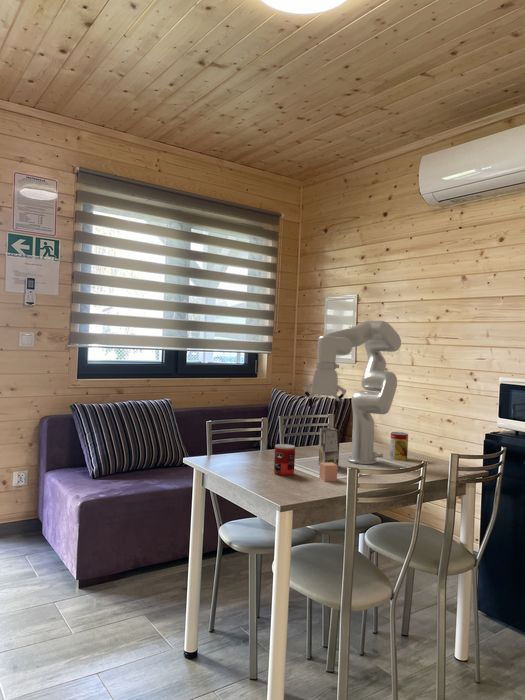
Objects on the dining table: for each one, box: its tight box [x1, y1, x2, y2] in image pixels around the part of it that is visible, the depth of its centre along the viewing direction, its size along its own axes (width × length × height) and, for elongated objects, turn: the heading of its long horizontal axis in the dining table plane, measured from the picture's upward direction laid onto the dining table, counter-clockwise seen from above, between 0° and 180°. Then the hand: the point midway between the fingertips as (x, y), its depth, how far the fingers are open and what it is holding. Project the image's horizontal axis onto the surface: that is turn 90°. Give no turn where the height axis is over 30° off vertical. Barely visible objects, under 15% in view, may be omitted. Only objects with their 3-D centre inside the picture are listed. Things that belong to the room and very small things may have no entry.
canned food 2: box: [389, 431, 409, 462], centre depth 245 cm, size 8×8×12 cm
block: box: [319, 462, 339, 482], centre depth 199 cm, size 5×5×6 cm
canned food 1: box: [273, 443, 296, 477], centre depth 206 cm, size 8×8×11 cm
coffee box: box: [318, 427, 341, 470], centre depth 221 cm, size 9×6×16 cm
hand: (323, 409), depth 209 cm, fingers open, 9 cm apart
